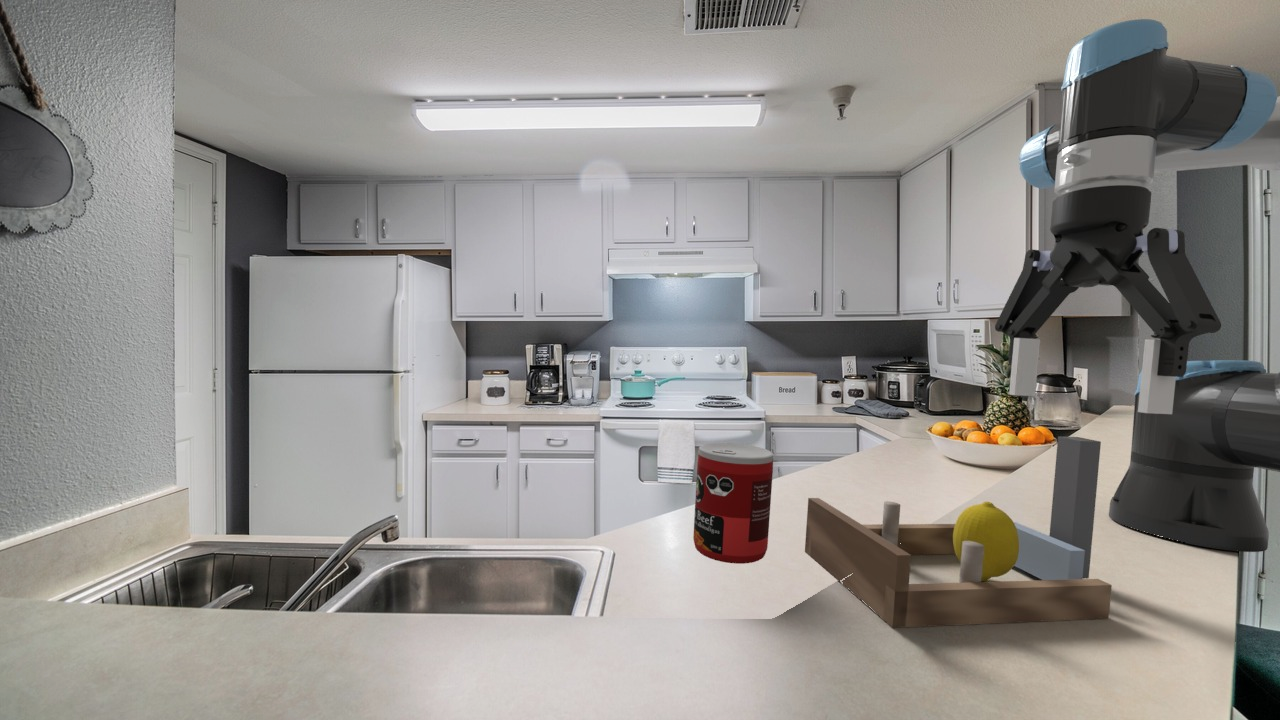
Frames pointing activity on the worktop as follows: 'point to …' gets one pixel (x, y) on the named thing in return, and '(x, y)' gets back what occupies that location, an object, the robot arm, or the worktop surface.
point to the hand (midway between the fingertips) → (1080, 403)
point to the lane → (936, 604)
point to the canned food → (733, 502)
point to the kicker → (1065, 516)
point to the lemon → (988, 537)
